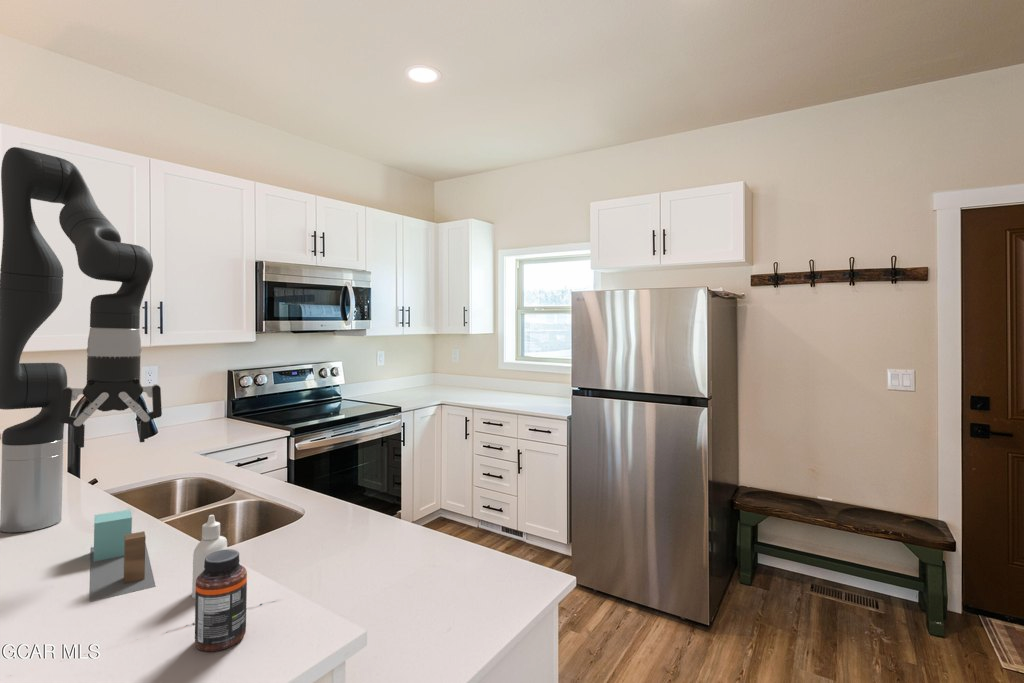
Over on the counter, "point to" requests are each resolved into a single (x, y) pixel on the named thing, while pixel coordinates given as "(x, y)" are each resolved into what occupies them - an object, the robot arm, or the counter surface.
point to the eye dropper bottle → (207, 547)
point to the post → (134, 557)
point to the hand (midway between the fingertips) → (112, 444)
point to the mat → (115, 578)
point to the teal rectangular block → (111, 534)
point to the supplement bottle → (220, 601)
